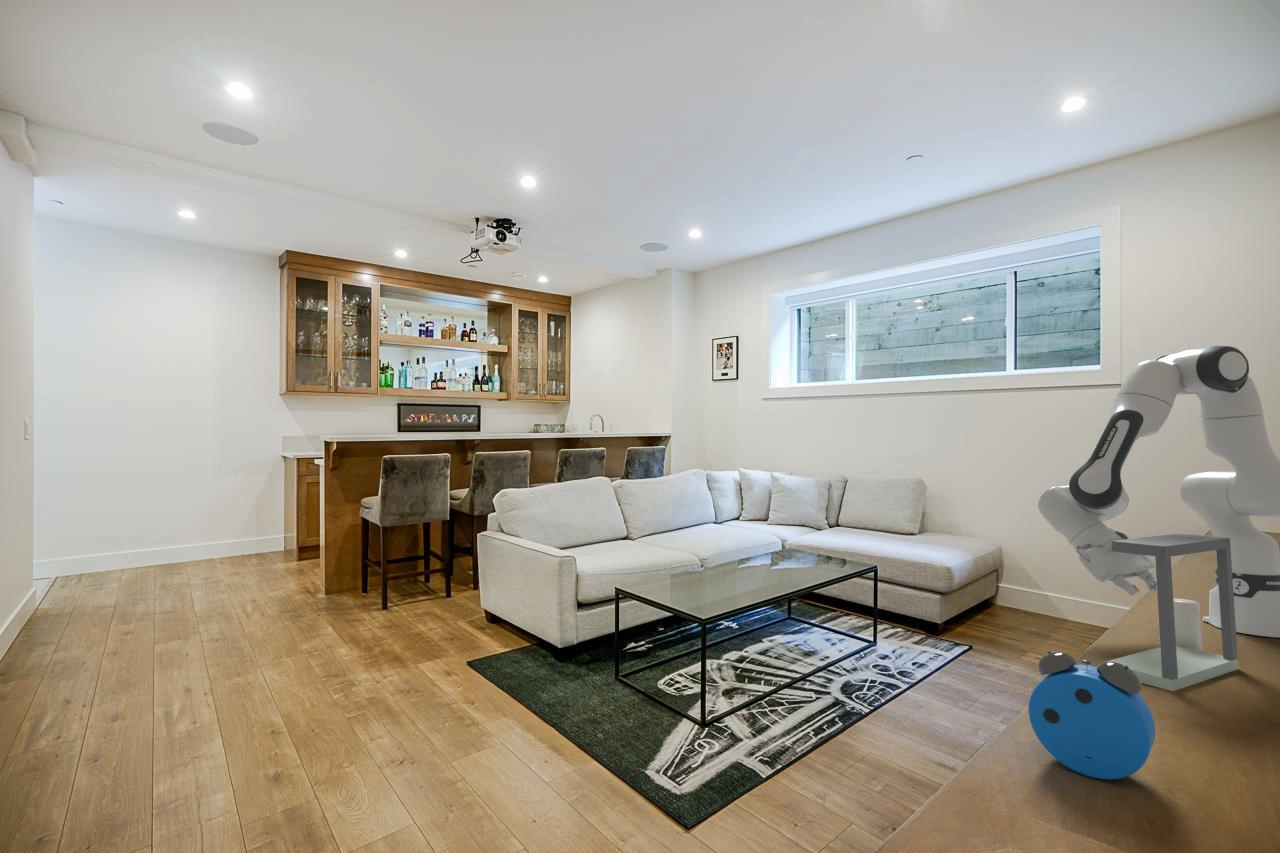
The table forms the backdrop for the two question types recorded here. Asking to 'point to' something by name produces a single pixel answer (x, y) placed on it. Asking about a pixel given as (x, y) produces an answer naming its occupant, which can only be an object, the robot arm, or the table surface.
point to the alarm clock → (1092, 716)
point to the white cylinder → (1187, 624)
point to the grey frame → (1170, 661)
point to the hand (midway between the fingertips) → (1147, 591)
